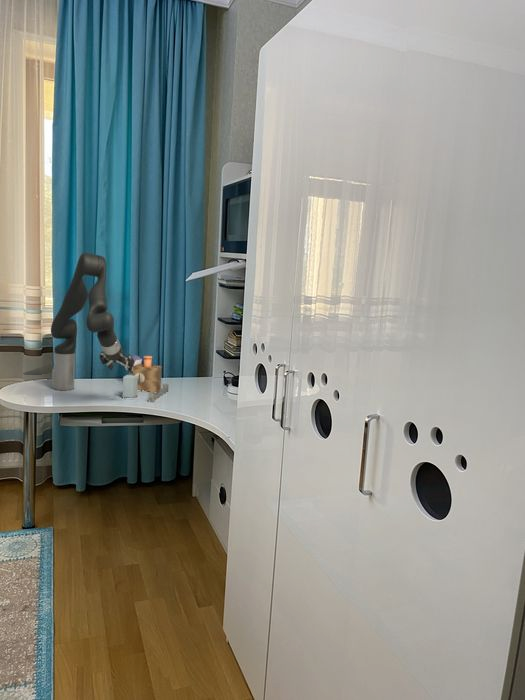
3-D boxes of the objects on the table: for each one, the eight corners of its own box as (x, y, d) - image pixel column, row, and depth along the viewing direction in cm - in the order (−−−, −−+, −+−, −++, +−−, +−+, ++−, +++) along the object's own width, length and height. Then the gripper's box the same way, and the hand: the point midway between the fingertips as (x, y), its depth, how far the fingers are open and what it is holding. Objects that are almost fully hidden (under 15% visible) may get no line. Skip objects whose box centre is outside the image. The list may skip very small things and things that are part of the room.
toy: (147, 383, 305) (148, 354, 303) (140, 387, 295) (141, 357, 293) (127, 381, 307) (128, 352, 304) (120, 385, 297) (121, 355, 295)
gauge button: (141, 373, 288) (142, 356, 286) (144, 372, 292) (145, 355, 290) (149, 374, 287) (150, 357, 286) (152, 372, 291) (153, 356, 290)
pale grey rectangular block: (121, 398, 272) (122, 376, 271) (126, 395, 277) (127, 374, 276) (133, 399, 271) (133, 378, 270) (137, 396, 277) (138, 375, 275)
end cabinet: (131, 390, 288) (132, 366, 286) (137, 387, 295) (138, 363, 293) (155, 393, 286) (156, 368, 284) (160, 389, 293) (161, 366, 291)
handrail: (148, 401, 269) (148, 393, 268) (163, 391, 291) (163, 383, 290) (153, 402, 269) (153, 393, 268) (168, 392, 290) (168, 384, 290)
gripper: (130, 341, 249) (139, 364, 262) (98, 338, 251) (108, 360, 264) (125, 356, 244) (134, 378, 257) (92, 352, 246) (103, 374, 259)
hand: (121, 369), depth 261 cm, fingers open, 8 cm apart
